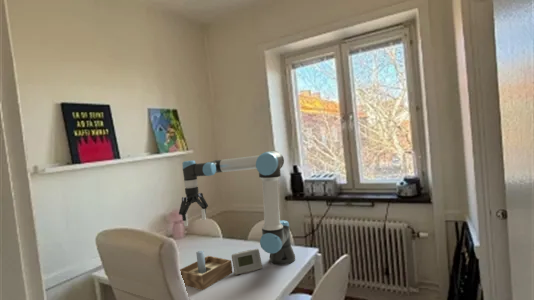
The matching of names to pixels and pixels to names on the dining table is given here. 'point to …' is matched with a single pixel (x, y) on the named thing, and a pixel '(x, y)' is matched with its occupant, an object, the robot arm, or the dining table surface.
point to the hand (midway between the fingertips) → (195, 222)
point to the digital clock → (246, 261)
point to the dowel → (201, 262)
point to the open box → (213, 274)
